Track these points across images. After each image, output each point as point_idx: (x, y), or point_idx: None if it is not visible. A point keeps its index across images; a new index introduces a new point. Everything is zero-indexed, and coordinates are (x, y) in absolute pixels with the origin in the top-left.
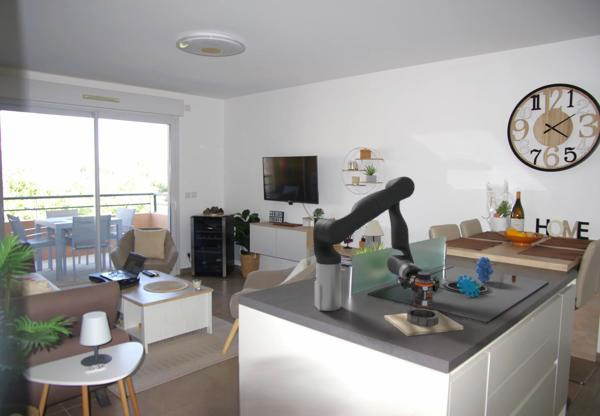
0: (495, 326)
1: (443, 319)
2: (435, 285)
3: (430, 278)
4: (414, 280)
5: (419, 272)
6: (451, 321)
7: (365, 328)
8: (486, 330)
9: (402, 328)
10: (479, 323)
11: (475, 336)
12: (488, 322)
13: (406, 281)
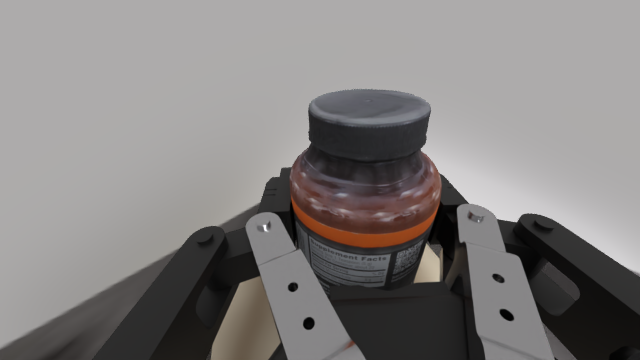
0: (83, 305)
1: (249, 345)
2: (289, 167)
3: (308, 149)
4: (458, 295)
5: (413, 103)
6: (229, 317)
7: (564, 277)
8: (155, 270)
9: (427, 249)
10: (105, 339)
11: (225, 232)
12: (52, 354)
13: (527, 222)
